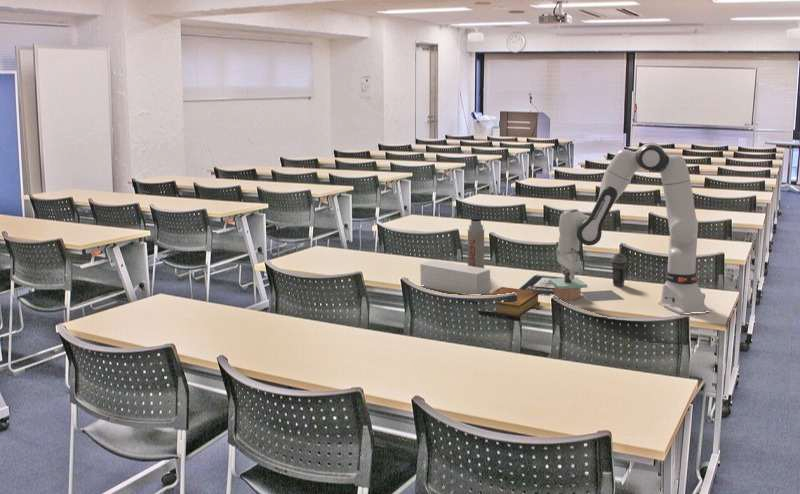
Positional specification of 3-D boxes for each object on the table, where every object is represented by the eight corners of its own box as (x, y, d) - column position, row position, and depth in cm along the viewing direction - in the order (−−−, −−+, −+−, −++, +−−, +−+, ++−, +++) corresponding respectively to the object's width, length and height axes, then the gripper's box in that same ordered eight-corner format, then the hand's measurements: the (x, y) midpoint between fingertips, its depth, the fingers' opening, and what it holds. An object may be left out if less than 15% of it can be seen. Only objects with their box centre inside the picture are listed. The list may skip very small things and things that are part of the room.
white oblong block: (490, 292, 374) (490, 269, 372) (476, 297, 366) (476, 274, 364) (434, 281, 394) (434, 259, 392) (420, 286, 386) (420, 264, 384)
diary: (500, 299, 364) (500, 286, 363) (539, 304, 355) (540, 291, 354) (477, 312, 345) (477, 299, 344) (519, 318, 336) (519, 304, 334)
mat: (624, 300, 356) (624, 299, 356) (591, 302, 354) (591, 301, 354) (611, 291, 371) (611, 290, 370) (579, 293, 369) (579, 292, 368)
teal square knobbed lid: (587, 287, 356) (587, 275, 354) (558, 289, 354) (558, 277, 353) (576, 280, 368) (577, 268, 367) (548, 281, 366) (549, 270, 365)
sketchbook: (516, 293, 373) (516, 289, 372) (535, 278, 399) (535, 273, 399) (563, 298, 363) (563, 293, 363) (579, 281, 390) (579, 277, 389)
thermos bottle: (475, 276, 400) (475, 220, 394) (464, 273, 407) (464, 218, 400) (487, 274, 405) (487, 218, 399) (476, 271, 411) (476, 216, 405)
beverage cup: (625, 284, 382) (626, 242, 378) (627, 288, 375) (629, 246, 370) (609, 284, 383) (610, 242, 378) (611, 288, 376) (613, 245, 371)
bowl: (583, 300, 358) (584, 287, 356) (559, 301, 356) (559, 288, 355) (575, 293, 368) (575, 280, 367) (551, 294, 367) (551, 281, 366)
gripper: (584, 251, 348) (583, 282, 351) (568, 241, 367) (567, 271, 370) (569, 251, 347) (569, 283, 350) (554, 241, 367) (553, 271, 370)
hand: (568, 277), depth 360 cm, fingers open, 8 cm apart
